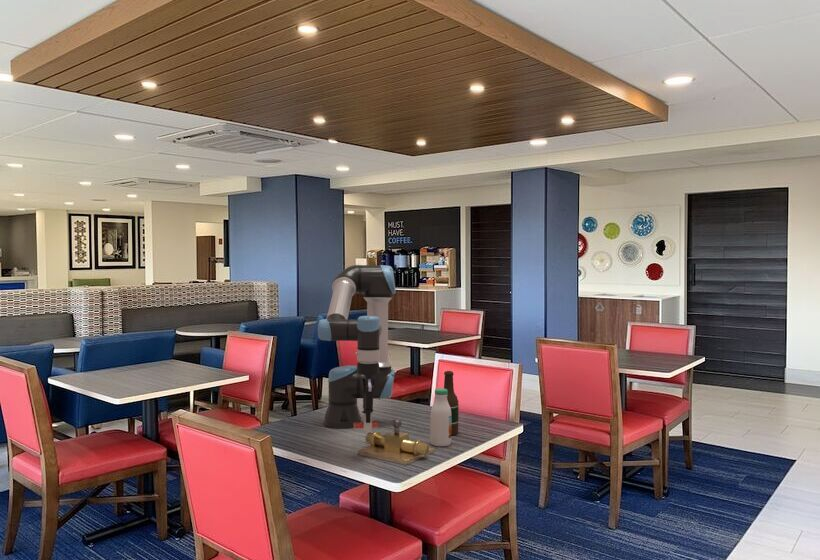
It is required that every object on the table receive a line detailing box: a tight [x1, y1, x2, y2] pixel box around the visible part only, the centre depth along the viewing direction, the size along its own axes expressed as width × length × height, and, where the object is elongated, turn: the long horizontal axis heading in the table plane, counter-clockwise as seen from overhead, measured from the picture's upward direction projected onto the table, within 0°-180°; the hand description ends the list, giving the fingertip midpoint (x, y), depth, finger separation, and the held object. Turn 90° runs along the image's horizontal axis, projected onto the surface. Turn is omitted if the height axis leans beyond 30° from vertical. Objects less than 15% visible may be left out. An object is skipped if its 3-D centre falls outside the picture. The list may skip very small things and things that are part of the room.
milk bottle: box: [429, 387, 452, 447], centre depth 228 cm, size 8×8×20 cm
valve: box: [357, 426, 436, 466], centre depth 217 cm, size 24×18×10 cm
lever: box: [353, 418, 402, 429], centre depth 215 cm, size 17×3×2 cm, turn 107°
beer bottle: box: [443, 370, 459, 436], centre depth 242 cm, size 8×8×24 cm
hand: (367, 431), depth 212 cm, fingers closed
